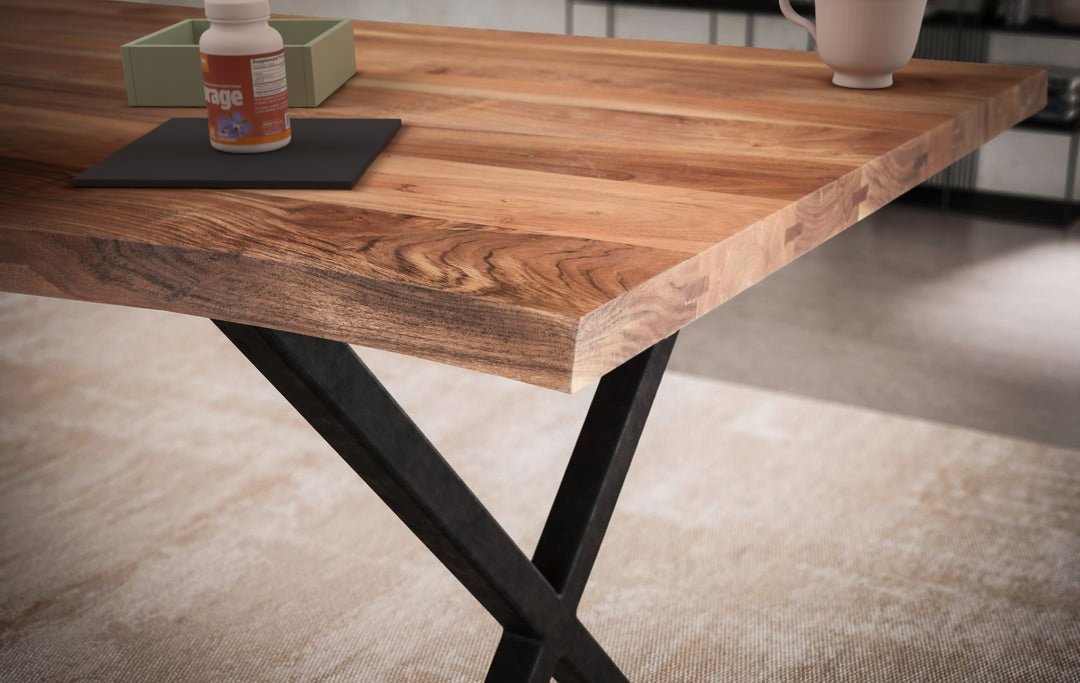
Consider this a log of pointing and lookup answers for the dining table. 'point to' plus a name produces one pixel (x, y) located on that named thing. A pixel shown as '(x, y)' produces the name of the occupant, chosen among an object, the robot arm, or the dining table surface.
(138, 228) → the dining table surface
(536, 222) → the dining table surface
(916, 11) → the teacup
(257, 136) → the pill bottle
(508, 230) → the dining table surface
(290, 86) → the crate
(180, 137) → the mat
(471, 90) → the dining table surface
